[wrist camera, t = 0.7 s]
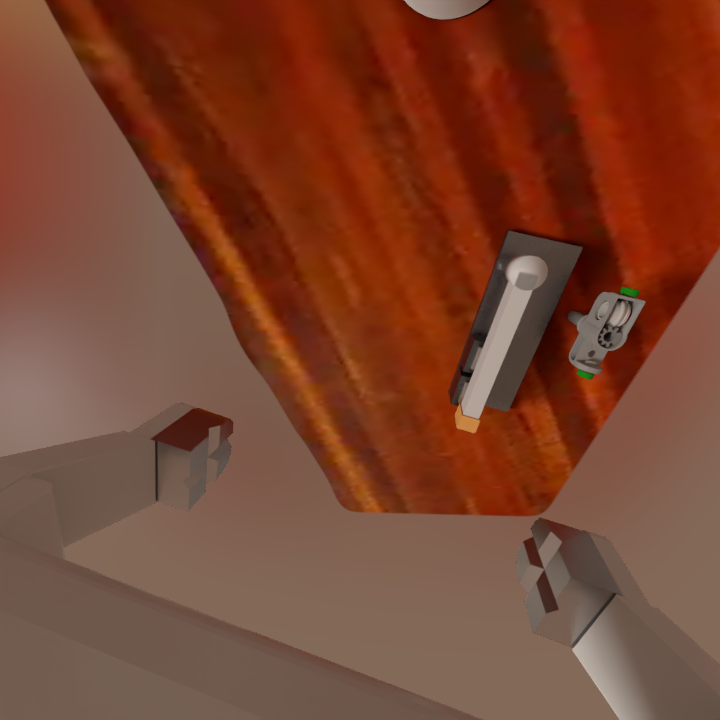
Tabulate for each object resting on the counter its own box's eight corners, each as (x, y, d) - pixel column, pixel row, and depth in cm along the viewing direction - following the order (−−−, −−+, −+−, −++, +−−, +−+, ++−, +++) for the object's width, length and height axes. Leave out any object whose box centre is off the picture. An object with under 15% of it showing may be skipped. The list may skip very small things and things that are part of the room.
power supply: (471, 332, 47) (474, 340, 43) (500, 340, 46) (505, 349, 43) (460, 362, 48) (463, 372, 45) (488, 369, 48) (492, 380, 44)
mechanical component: (546, 347, 47) (574, 376, 37) (580, 275, 43) (621, 286, 33) (567, 353, 46) (601, 383, 37) (603, 280, 42) (652, 294, 33)
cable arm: (512, 250, 38) (519, 252, 35) (544, 258, 38) (554, 260, 34) (450, 413, 47) (452, 426, 43) (476, 421, 46) (479, 434, 43)
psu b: (459, 366, 49) (461, 376, 45) (486, 373, 48) (490, 384, 45) (449, 393, 50) (450, 405, 47) (475, 400, 50) (479, 413, 47)
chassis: (506, 230, 42) (517, 230, 37) (578, 247, 41) (600, 249, 36) (448, 392, 52) (450, 409, 47) (506, 408, 51) (514, 427, 46)
